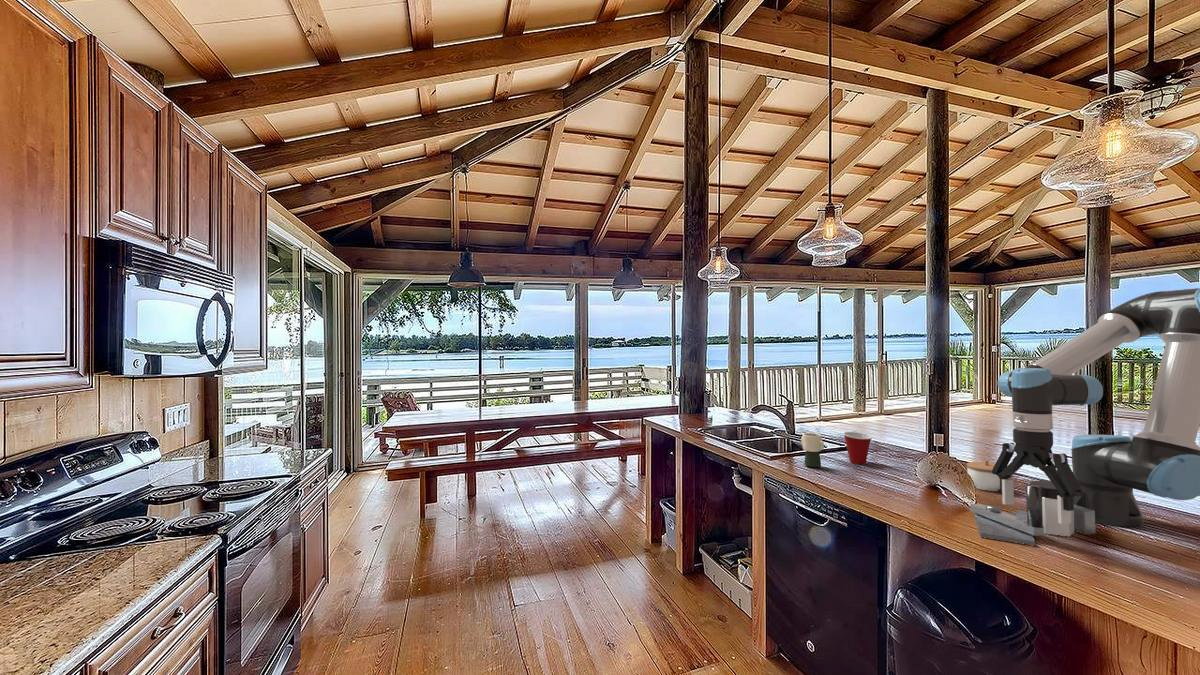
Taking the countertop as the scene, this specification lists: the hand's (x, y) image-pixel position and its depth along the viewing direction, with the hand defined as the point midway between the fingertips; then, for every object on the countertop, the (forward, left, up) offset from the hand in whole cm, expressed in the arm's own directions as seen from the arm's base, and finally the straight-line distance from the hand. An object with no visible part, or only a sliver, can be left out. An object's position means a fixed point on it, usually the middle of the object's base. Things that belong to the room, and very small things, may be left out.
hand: (1034, 513), depth 120 cm
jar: (-5, -10, -7) cm, 13 cm away
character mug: (+60, -46, -7) cm, 76 cm away
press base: (+6, -5, -7) cm, 11 cm away
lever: (+4, -6, -5) cm, 9 cm away
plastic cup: (+45, -61, -7) cm, 77 cm away
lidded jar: (+5, -45, -7) cm, 46 cm away
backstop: (-10, -14, -7) cm, 18 cm away
